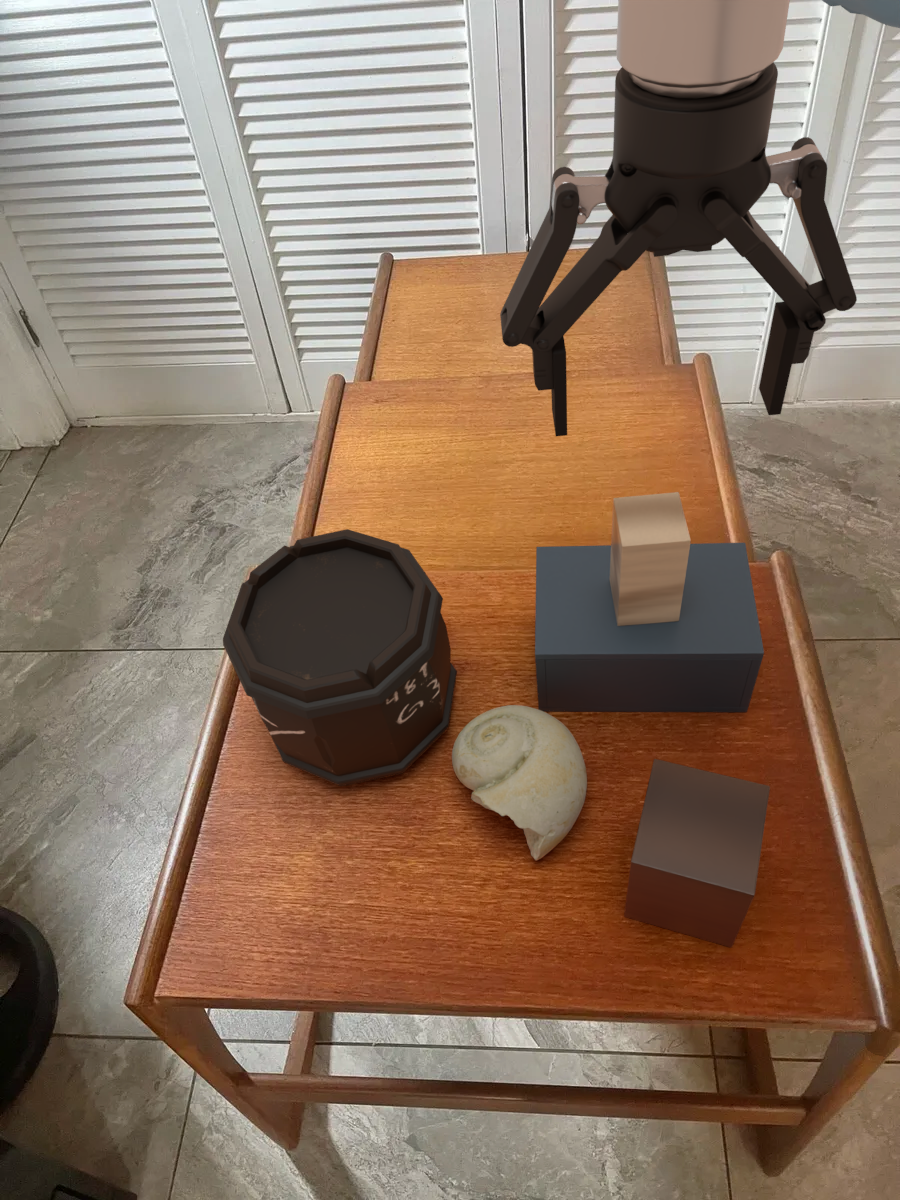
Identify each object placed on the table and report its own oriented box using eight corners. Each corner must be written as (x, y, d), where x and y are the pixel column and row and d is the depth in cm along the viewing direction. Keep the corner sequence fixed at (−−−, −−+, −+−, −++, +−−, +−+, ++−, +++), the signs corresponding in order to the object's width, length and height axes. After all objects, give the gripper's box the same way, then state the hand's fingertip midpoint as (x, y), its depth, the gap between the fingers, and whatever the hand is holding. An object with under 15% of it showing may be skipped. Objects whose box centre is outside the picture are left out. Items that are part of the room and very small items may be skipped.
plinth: (731, 948, 67) (754, 895, 58) (623, 916, 69) (630, 862, 60) (746, 848, 71) (770, 785, 62) (645, 821, 73) (654, 758, 65)
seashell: (426, 720, 73) (535, 661, 74) (445, 753, 80) (545, 699, 80) (499, 861, 66) (618, 795, 67) (513, 884, 73) (621, 824, 74)
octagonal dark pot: (289, 622, 90) (244, 515, 78) (468, 630, 87) (450, 520, 75) (240, 788, 79) (178, 694, 67) (441, 804, 76) (415, 709, 64)
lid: (536, 552, 81) (536, 546, 80) (743, 548, 79) (745, 542, 78) (535, 659, 74) (534, 654, 73) (762, 658, 72) (764, 653, 71)
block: (678, 621, 74) (691, 540, 66) (617, 626, 74) (622, 546, 66) (668, 574, 77) (679, 491, 69) (609, 579, 77) (613, 497, 69)
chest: (539, 614, 87) (536, 559, 81) (732, 612, 85) (745, 555, 78) (538, 711, 81) (535, 660, 74) (747, 712, 78) (762, 659, 72)
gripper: (941, -4, 44) (842, 356, 61) (433, 63, 46) (472, 394, 62) (1003, 61, 39) (877, 431, 56) (434, 132, 41) (476, 470, 58)
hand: (663, 412), depth 59 cm, fingers open, 13 cm apart
